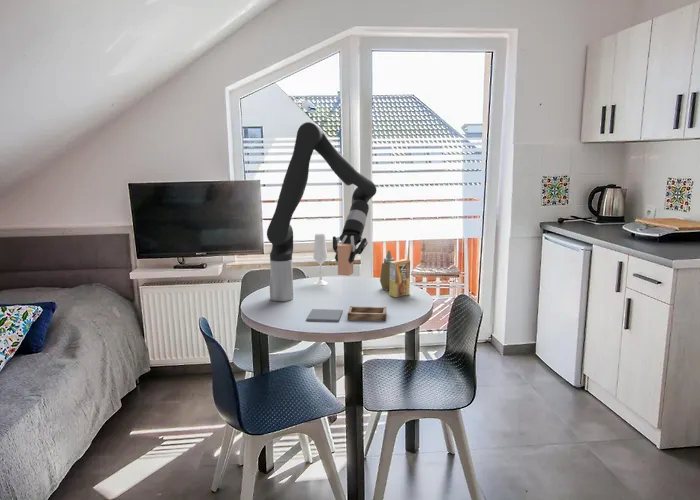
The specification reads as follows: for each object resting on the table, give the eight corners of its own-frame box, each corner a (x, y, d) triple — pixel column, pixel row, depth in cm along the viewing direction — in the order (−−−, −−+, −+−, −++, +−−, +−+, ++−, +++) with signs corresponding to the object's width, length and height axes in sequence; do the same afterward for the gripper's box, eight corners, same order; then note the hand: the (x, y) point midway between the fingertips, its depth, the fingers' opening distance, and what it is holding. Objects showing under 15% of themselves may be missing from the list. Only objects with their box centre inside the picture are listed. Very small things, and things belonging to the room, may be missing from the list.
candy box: (403, 292, 210) (403, 258, 208) (410, 294, 207) (410, 260, 204) (388, 295, 205) (389, 261, 202) (395, 297, 202) (396, 262, 199)
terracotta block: (337, 274, 172) (337, 245, 170) (342, 272, 177) (342, 243, 175) (349, 275, 171) (348, 246, 169) (353, 273, 175) (353, 244, 173)
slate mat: (306, 320, 172) (306, 318, 172) (312, 311, 184) (312, 309, 184) (338, 321, 171) (338, 319, 171) (342, 311, 183) (342, 309, 183)
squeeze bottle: (392, 292, 211) (392, 252, 208) (376, 289, 215) (376, 251, 212) (400, 288, 217) (400, 249, 214) (385, 285, 222) (385, 248, 219)
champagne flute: (330, 283, 228) (329, 234, 223) (320, 285, 223) (319, 235, 219) (321, 280, 232) (320, 232, 228) (311, 283, 227) (309, 234, 223)
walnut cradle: (347, 319, 173) (347, 313, 173) (350, 312, 182) (350, 306, 181) (385, 320, 172) (385, 314, 171) (386, 313, 180) (386, 307, 180)
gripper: (334, 217, 179) (322, 254, 171) (370, 219, 174) (359, 257, 166) (340, 229, 185) (328, 265, 176) (374, 231, 180) (364, 268, 171)
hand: (343, 261), depth 171 cm, fingers closed on terracotta block, 4 cm apart
